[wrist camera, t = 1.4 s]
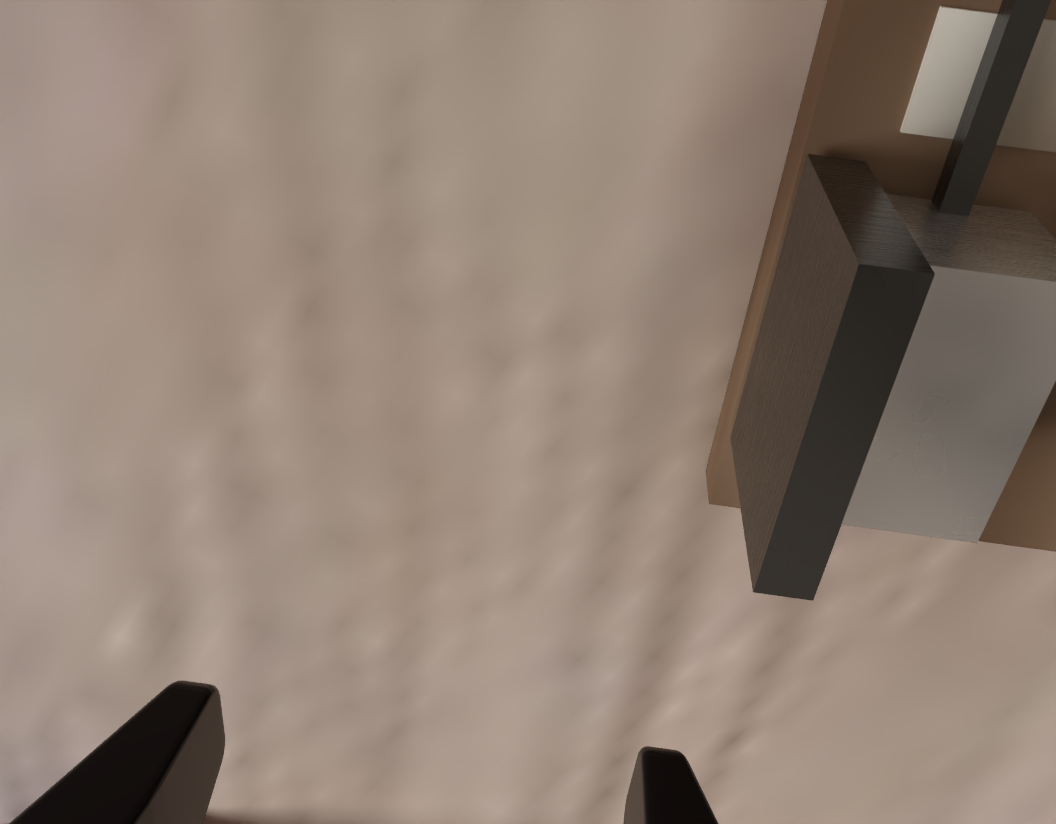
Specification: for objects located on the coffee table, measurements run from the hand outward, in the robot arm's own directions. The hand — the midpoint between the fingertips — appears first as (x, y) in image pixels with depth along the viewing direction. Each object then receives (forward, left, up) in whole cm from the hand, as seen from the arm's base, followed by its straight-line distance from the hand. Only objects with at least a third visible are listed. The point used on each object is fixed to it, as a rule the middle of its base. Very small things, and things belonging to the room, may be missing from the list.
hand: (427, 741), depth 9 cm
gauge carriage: (-6, -2, -10) cm, 13 cm away
